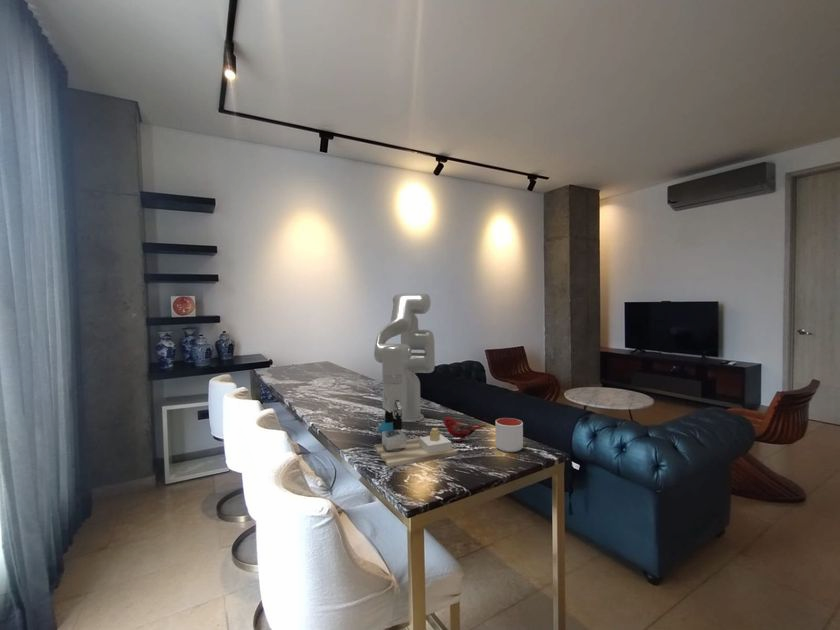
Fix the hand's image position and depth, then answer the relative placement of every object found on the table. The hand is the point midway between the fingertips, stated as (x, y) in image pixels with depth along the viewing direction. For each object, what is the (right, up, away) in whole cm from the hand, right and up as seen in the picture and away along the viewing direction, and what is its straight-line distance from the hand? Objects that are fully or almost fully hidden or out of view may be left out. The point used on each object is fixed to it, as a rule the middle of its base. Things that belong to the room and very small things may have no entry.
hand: (393, 425), depth 140 cm
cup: (+43, -10, +3) cm, 45 cm away
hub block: (+15, -8, 0) cm, 17 cm away
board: (+8, -10, +1) cm, 13 cm away
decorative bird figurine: (+27, -10, +11) cm, 31 cm away
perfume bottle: (-2, -10, +15) cm, 18 cm away
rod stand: (0, -8, +1) cm, 8 cm away
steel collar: (0, -7, +1) cm, 7 cm away
